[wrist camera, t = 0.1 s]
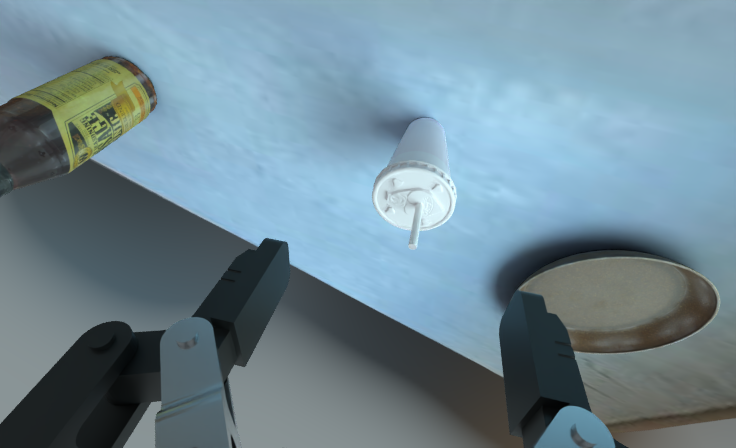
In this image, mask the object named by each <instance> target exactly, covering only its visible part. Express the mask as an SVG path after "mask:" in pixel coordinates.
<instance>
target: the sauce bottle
mask: <svg viewBox="0 0 736 448" xmlns="http://www.w3.org/2000/svg"><path fill="white" fill-rule="evenodd" d="M156 104H157V98H156V93H155V91H154V86H153V84H152V82H151V81H150V79H149V78H148V77H147V76H146V75H145V74H144V73H143V72H142V71H141V70H140V69H139V68H138V67H137V66H135V65H134V64H132V63H131V62H129V61H127V60H125V59H122V58H119V57H112V56H109V57H104V58H102V59H100V60H96V61H93V62H91V63H89V64H87V65H85V66H82V67H80V68H78V69H76V70H74V71H71V72H69V73H67V74H65V75H63V76H61V77H58V78H56V79H54V80H52V81H50V82H47V83H45V84H43V85H41V86H39V87H36V88H34V89H32V90H30V91H28V92H25V93H23V94H21V95H19V96H17V97H14V98H12V99H11V100H9V101H8V102H7V103H6V104H3V105H1V106H0V197H1V196H3V195H6V194H8V193H10V192H11V191H12V190H15V189H18V188H22V187H25V186H29V185H32V184H35V183H39V182H42V181H45V180H49V179H52V178H56V177H59V176H63V175H66V174H68V173H70V172H71V171H73V170H74V169H76V168H77V167H78V166H79V165H81V164H83V163H84V162H85V161H87V160H88V159H90V158H91V157H92V156H94V155H95V154H97V153H99V152H100V151H101V150H103V149H104V148H105V147H107V146H108V145H109V144H111V143H112V142H114V141H115V140H117V139H118V138H119V137H120V136H122V135H123V134H124V133H126V132H127V131H129V130H130V129H132V128H133V127H134V126H136V125H137V124H138V123H140V122H141V121H143V120H144V119H145V118H146V117H147V116H148V115H149V113H150V112H151V111H153V110H154V108H155V106H156Z"/></svg>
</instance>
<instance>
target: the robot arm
mask: <svg viewBox="0 0 736 448" xmlns="http://www.w3.org/2000/svg"><path fill="white" fill-rule="evenodd" d="M289 278H290V263H289V250H288V243H287V242H284V241H279V240H274V239H269V238H265V239H264V240H263V241H262V243H261V244H260V246H259V247H258V249H257V250H256V251H255V250H251V249H248V250H247V251H245V252H244V253H242V254H241V255H239V256H238V257H236V259H235V260H234V261H233V263H232V264H231V265H230V267H229V268H228V271H226V272H225V273H224V275H223V276H222V277H221V280H219V281H218V283H217V284H216V285H215V287H214V288H213V289H212V291H211V292H210V293H209V295H208V296H207V297H206V299H205V300H204V302H203V303H202V304H201V306H200V307H199V308H198V310H197V311H196V312H195V314H194V315H193V316H192V317H190V318H185V319H183V320H180V321H178V322H176V323H175V324H173V325H172V326H170V327H169V328H168V329H167V330H162V331H148V332H133V331H132V329H131V328H130V326H129V325H128V324H126V323H124V322H120V321H111V322H106V323H102V324H100V325H97V326H95V327H93V328H91V329H90V330H88V331H87V332H86V333H84V334H83V335H82V336H81V337H80V338H79V339H78V340H77V341H76V342H75V343H74V345H73V346H72V347H71V348H70V349H69V350H68V351H67V352H66V353H65V354H64V356H62V358H61V359H60V360H59V361H58V362H57V363H56V364H55V365H54V366H53V367H52V368H51V370H50V371H49V372H48V373H47V374H46V375H45V376H44V377H43V378H42V379H41V380H40V382H39V383H38V384H37V385H36V386H35V387H34V388H33V389H32V390H31V391H30V392H29V394H27V396H26V397H25V398H24V399H23V400H22V401H21V402H20V403H19V404H18V405H17V406H16V407H15V409H14V410H13V411H12V412H11V413H10V414H9V415H8V416H7V417H6V418H5V419H4V421H3V422H2V423H1V424H0V448H123V446H124V445H125V443H126V442H127V440H128V438H129V437H130V435H131V434H132V432H133V430H134V429H135V427H136V426H137V424H138V423H139V421H140V419H141V418H142V416H143V414H144V413H145V411H146V410H147V408H148V407H149V405H150V403H151V402H156V401H161V402H162V405H161V411H159V412H158V413H157V414H156V419H155V448H242V447H241V442H240V438H239V434H238V430H237V424H236V418H235V412H234V406H233V401H232V395H231V389H230V384H229V378H228V375H229V373H230V371H231V369H232V368H233V366H234V365H238V366H242V367H245V366H246V364H247V362H248V360H249V359H250V357H251V355H252V353H253V351H254V349H255V347H256V345H257V343H258V341H259V339H260V337H261V336H262V334H263V332H264V330H265V328H266V326H267V324H268V322H269V320H270V318H271V317H272V315H273V313H274V311H275V309H276V307H277V305H278V303H279V301H280V299H281V297H282V295H283V294H284V292H285V290H286V288H287V285H288V282H289ZM499 338H500V347H501V357H502V366H503V375H504V384H505V394H506V402H507V412H508V421H509V430H510V435H514V436H518V437H522V438H523V444H524V448H628V447H626V446H624V445H623V444H621V443H619V442H618V441H616V440H615V439H613V438H612V436H611V434H610V432H609V430H608V429H607V427H606V426H605V425H604V423H603V422H602V421H601V420H600V419H599V418H598V417H596V416H595V415H594V414H592V412H591V409H590V406H589V403H588V399H587V396H586V392H585V389H584V385H583V382H582V379H581V375H580V372H579V368H578V365H577V362H576V360H575V355H574V351H573V348H572V347H571V341H570V338H569V334H568V331H567V328H566V327H565V326H564V324H563V323H562V321H561V320H560V319H559V317H558V316H557V315H556V314H552V313H547V309H546V305H545V301H544V298H543V296H542V295H539V294H534V293H529V292H524V291H520V290H517V291H516V292H515V294H514V295H513V297H512V299H511V301H510V303H509V305H508V307H507V309H506V311H505V313H504V315H503V317H502V319H501V323H500V328H499Z"/></svg>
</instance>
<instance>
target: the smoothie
mask: <svg viewBox="0 0 736 448" xmlns="http://www.w3.org/2000/svg"><path fill="white" fill-rule="evenodd" d="M456 197H457V195H456V187H455V185H454V183H453V181H452V179H451V176H450V169H449V161H448V153H447V144H446V136H445V130H444V128H443V126H442V125H441V124H440V123H439V122H438V121H436V120H434V119H432V118H419V119H416V120H414V121H413V122H412V123H411V124H410V125H409V126H408V128H407V130H406V132H405V133H404V135H403V137H402V139H401V141H400V143H399V145H398V147H397V149H396V150H395V152H394V154H393V156H392V158H391V160H390V162H389V164H388V165H387V167H386V168H385V169H383V170H382V171H381V172H380V174H379V175H378V176H377V177H376V180H375V183H374V188H373V193H372V200H373V204H374V207H375V209H376V211H377V212H378V213H379V215H380V216H381V217H382V218H383V219H384V220H386V221H387V222H389V223H390V224H392V225H394V226H396V227H398V228H402V229H405V230H411V235H410V241H409V248H410V249H412V250H414V249H416V248H417V242H418V236H419V231H424V230H430V229H433V228H436V227H438V226H440V225H442V224H443V223H445V222H446V221H447V220H448V219H449V218H450V217H451V215H452V213H453V211H454V208H455V201H456Z"/></svg>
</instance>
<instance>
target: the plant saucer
mask: <svg viewBox="0 0 736 448" xmlns="http://www.w3.org/2000/svg"><path fill="white" fill-rule="evenodd" d="M517 290H520V291H524V292H529V293H534V294H539V295H542V296H543V298H544V301H545V305H546V309H547V313H552V314H556V315H557V316H558V317H559V319H560V320H561V321H562V323H563V324H564V326H565V327H566V328H567V331H568V334H569V338H570V341H571V347H572V348H573V351H574V352H579V353H587V354H625V353H634V352H642V351H647V350H652V349H656V348H660V347H664V346H668V345H671V344H674V343H677V342H679V341H682V340H684V339H686V338H688V337H690V336H692V335H694V334H696V333H698V332H699V331H701V330H702V329H703V328H704V327H706V326H707V325H708V324H709V323H710V322H711V321H712V320H713V319H714V317H715V316H716V314H717V313H718V310H719V307H720V296H719V293H718V291H717V289H716V287H715V286H714V284H713V283H712V282H711V281H710V280H708V279H707V278H706V277H705V276H703V275H702V274H700V273H698V272H696V271H695V270H693V269H691V268H689V267H687V266H685V265H683V264H680V263H678V262H675V261H673V260H670V259H667V258H664V257H660V256H656V255H652V254H648V253H642V252H635V251H626V250H601V251H592V252H586V253H580V254H576V255H572V256H568V257H565V258H562V259H559V260H557V261H554V262H552V263H550V264H548V265H546V266H544V267H542V268H541V269H539V270H537V271H536V272H535V273H533V274H532V275H531V276H529V277H528V278H527V279H526V280H525V281H524V282H523V283H522V284H521V285H520V286H519V287H518V289H517ZM517 290H516V291H517ZM516 291H515V292H516ZM514 294H515V293H514ZM512 297H513V296H512ZM511 299H512V298H511ZM510 301H511V300H510Z"/></svg>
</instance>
